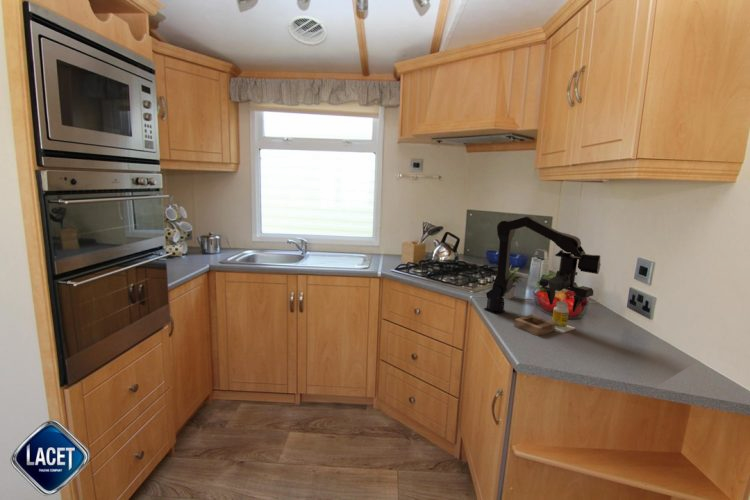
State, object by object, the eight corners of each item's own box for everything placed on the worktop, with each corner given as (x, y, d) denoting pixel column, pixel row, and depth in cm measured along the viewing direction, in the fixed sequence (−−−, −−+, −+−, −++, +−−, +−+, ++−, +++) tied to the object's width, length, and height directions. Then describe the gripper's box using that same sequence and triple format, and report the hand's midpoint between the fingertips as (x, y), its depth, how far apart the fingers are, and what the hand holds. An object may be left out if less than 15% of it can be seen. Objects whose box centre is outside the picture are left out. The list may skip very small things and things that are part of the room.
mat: (543, 325, 148) (544, 324, 148) (555, 322, 153) (555, 320, 153) (563, 332, 142) (563, 331, 142) (574, 328, 146) (574, 327, 146)
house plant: (492, 300, 178) (495, 266, 175) (487, 291, 191) (490, 260, 188) (523, 302, 176) (527, 269, 173) (516, 294, 190) (519, 262, 187)
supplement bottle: (556, 322, 151) (559, 299, 149) (569, 327, 147) (572, 303, 145) (548, 324, 148) (551, 301, 146) (561, 329, 144) (565, 305, 142)
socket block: (513, 326, 146) (514, 319, 146) (530, 321, 152) (531, 314, 151) (538, 336, 138) (539, 328, 137) (554, 330, 143) (555, 323, 143)
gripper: (533, 265, 146) (528, 304, 149) (580, 277, 131) (574, 319, 134) (549, 263, 152) (544, 300, 155) (597, 273, 137) (590, 314, 140)
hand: (562, 308), depth 146 cm, fingers open, 9 cm apart
